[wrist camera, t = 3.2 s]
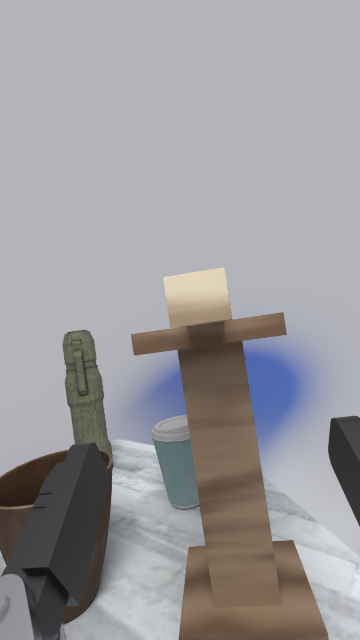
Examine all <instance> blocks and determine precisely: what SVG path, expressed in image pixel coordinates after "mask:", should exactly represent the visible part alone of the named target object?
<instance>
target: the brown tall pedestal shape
mask: <svg viewBox="0 0 360 640" xmlns="http://www.w3.org/2000/svg"><path fill="white" fill-rule="evenodd" d="M281 335H286V327H285V321H284V314H283V313H276V314H269V315H262V316H255V317H248V318H241V319H235V320H227V321H220V322H213V323H206V324H199V325H193V326H186V327H179V328H172V329H165V330H158V331H151V332H144V333H137V334H131V337H132V344H133V352H134V355H141V354H149V353H156V352H163V351H171V350H178V356H179V364H180V370H181V378H182V384H183V391H184V398H185V405H186V412H187V419H188V426H189V433H190V440H191V447H192V454H193V461H194V468H195V475H196V482H197V489H198V496H199V503H200V510H201V517H202V524H203V531H204V538H205V545H206V546H197V547H189V549H188V559H187V568H186V577H185V587H184V596H183V605H182V615H181V624H180V633H179V640H329V639H328V633H327V630H326V628H325V625H324V622H323V620H322V617H321V614H320V612H319V609H318V606H317V604H316V601H315V598H314V596H313V593H312V590H311V587H310V585H309V582H308V579H307V577H306V574H305V571H304V569H303V566H302V563H301V561H300V558H299V555H298V553H297V550H296V547H295V544H294V542H293V540H289V541H273V542H272V537H271V531H270V524H269V517H268V511H267V504H266V497H265V491H264V484H263V477H262V471H261V465H260V457H259V451H258V444H257V437H256V431H255V424H254V417H253V411H252V404H251V398H250V391H249V384H248V378H247V371H246V364H245V357H244V351H243V344H242V341H244V340H251V339H259V338H266V337H272V336H281Z"/></svg>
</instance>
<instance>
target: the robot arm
mask: <svg viewBox="0 0 360 640" xmlns="http://www.w3.org/2000/svg"><path fill="white" fill-rule="evenodd" d="M328 452H329V458H330V461H331V465H332V467H333V470H334V472H335V474H336V476H337V478H338V480H339V483H340V485H341V487H342V489H343V491H344V494H345V496H346V498H347V500H348V502H349V504H350V507H351V509H352V511H353V513H354V515H355V517H356V519H357V521H358V524H359V526H360V418H359V417H358V416H349V417H339V418H332V419H331V422H330V434H329V445H328ZM108 486H109V472H108V468H107V466H106V464H105V462H104V460H103V457H102V455H101V453H100V451H99V449H98V447H97V445H96V443H94V442H92V443H83V444H74V445H72V446H71V447H70V449H69V451H68V453H67V456H66V458H65V461H64V462H58V463H57V464H56V465H55V467H54V468H53V469H52V470H51V471H50V473H49V474H48V475H47V476H46V478H45V480H44V483H43V485H42V487H41V489H40V492H39V496H38V497H37V498H36V501H35V503H34V505H33V510H32V511H31V512H30V514H29V517H28V519H27V521H26V523H25V526H24V528H23V530H22V532H21V535H20V537H19V539H18V541H17V544H16V546H15V548H14V550H13V553H12V555H11V557H10V559H9V562H8V564H7V566H6V568H5V570H4V572H3V573H2V575H1V576H0V640H67V638H66V634H65V630H64V626H63V624H62V620H63V617H64V613H65V609H66V606H80V603H81V598H82V594H83V590H84V586H85V582H86V578H87V573H88V569H89V565H90V561H91V557H92V553H93V549H94V544H95V540H96V536H97V532H98V528H99V524H100V519H101V515H102V511H103V507H104V503H105V499H106V495H107V490H108Z"/></svg>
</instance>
